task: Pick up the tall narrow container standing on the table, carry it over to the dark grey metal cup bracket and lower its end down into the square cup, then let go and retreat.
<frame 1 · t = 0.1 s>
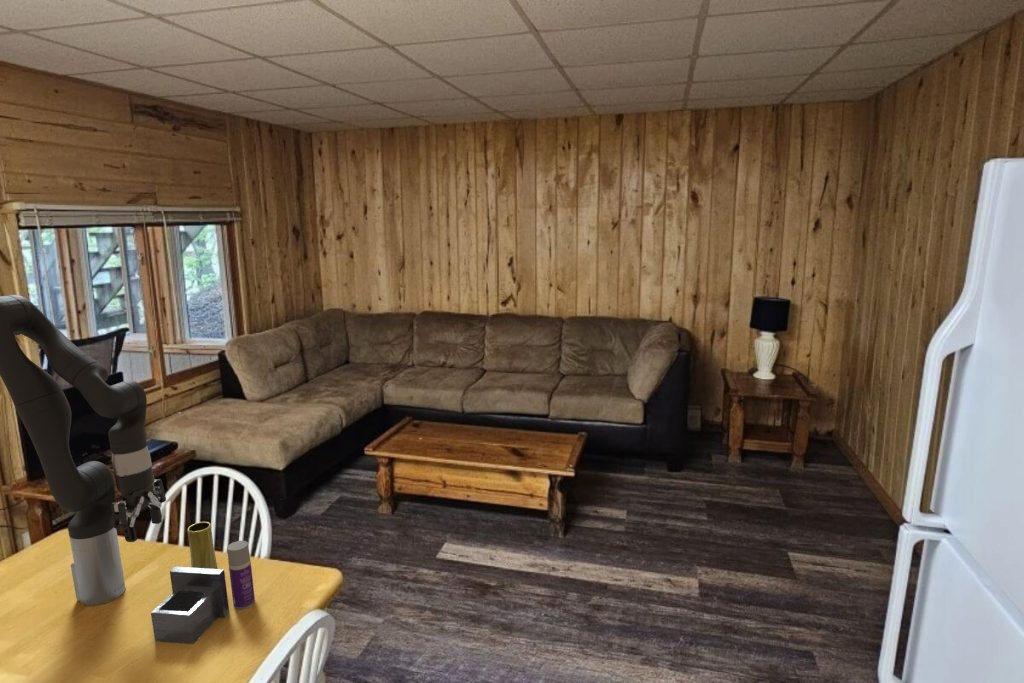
hand: (144, 531, 145), 17 cm above the table, tool pointing down, fingers open, 8 cm apart
cup bracket: (187, 629, 137), on the table
container: (244, 604, 146), on the table
vase: (205, 579, 157), on the table
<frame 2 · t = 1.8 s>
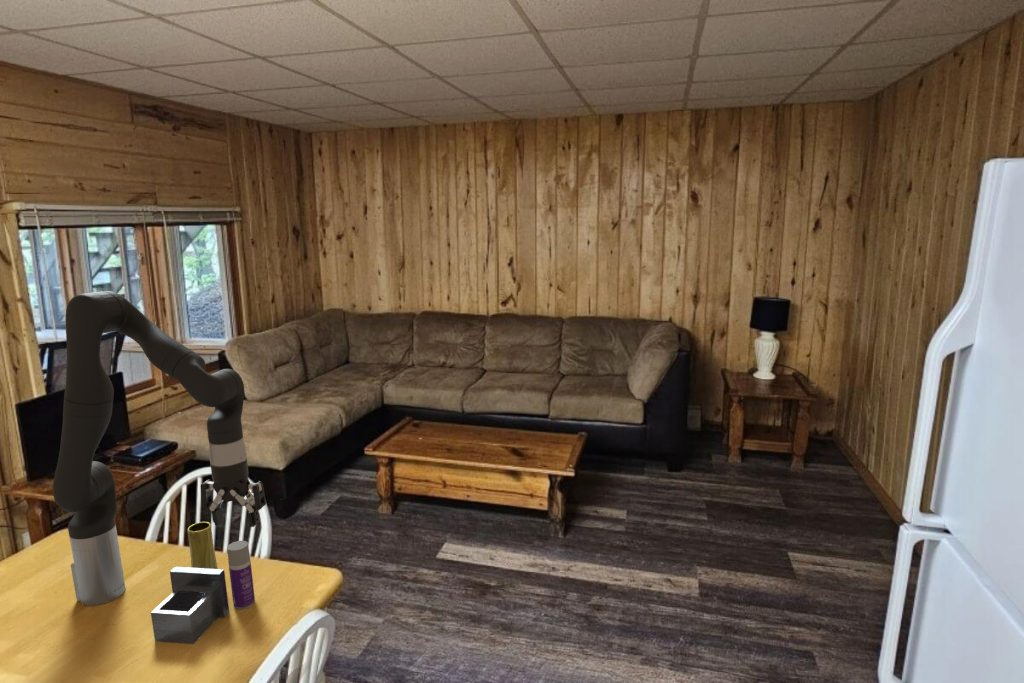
hand: (236, 524, 142), 20 cm above the table, tool pointing down, fingers open, 8 cm apart
nothing on the table moved.
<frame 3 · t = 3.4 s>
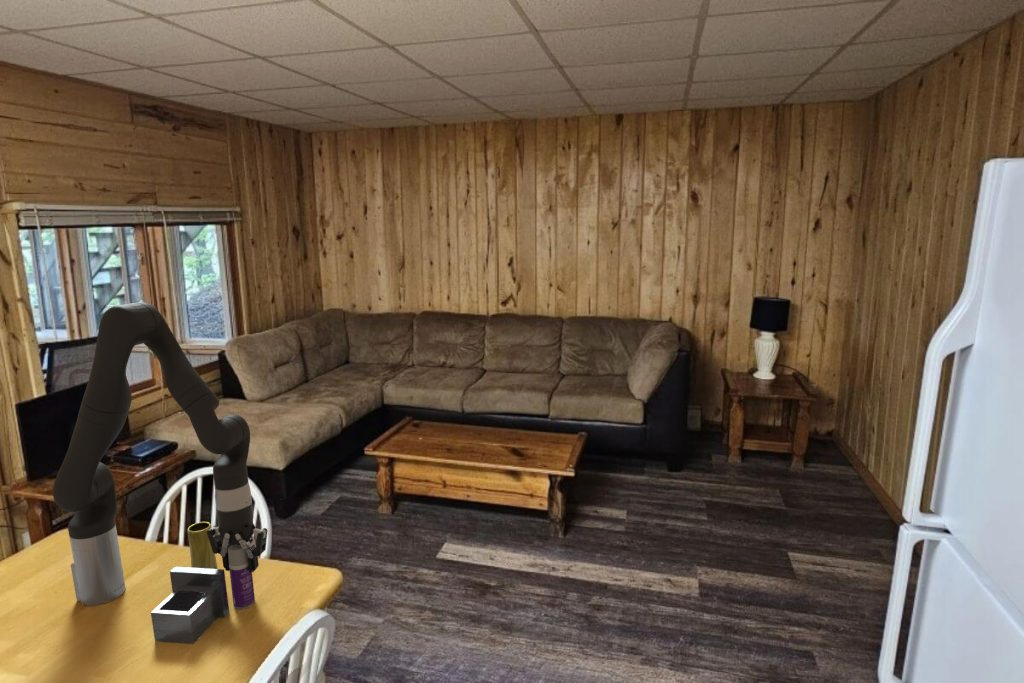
hand: (241, 569, 144), 9 cm above the table, tool pointing down, fingers open, 5 cm apart
container: (244, 604, 146), on the table, touching gripper
everything else where it was.
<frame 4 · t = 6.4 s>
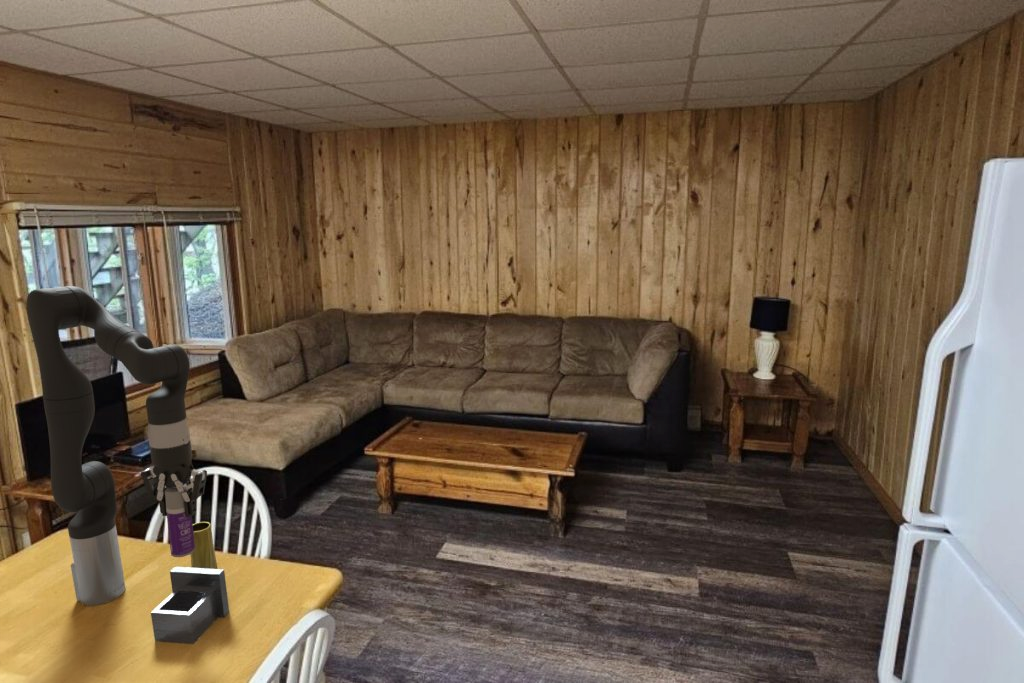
hand: (179, 514, 133), 27 cm above the table, tool pointing down, fingers closed on container, 4 cm apart
container: (183, 552, 135), point 18 cm above the table, touching gripper
everything else where it was.
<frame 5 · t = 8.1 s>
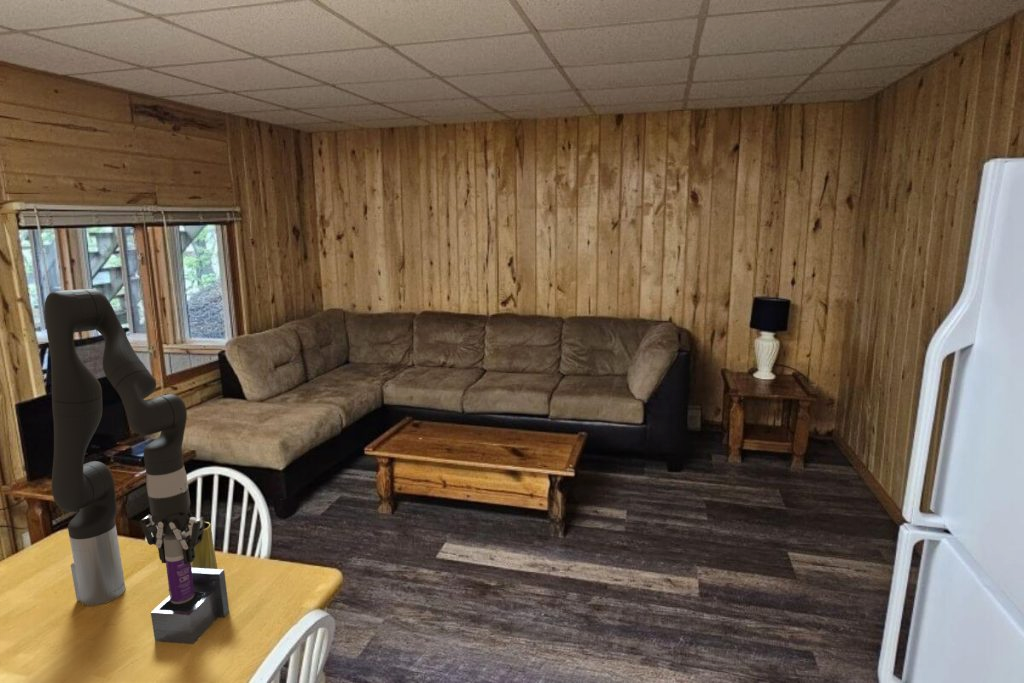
hand: (178, 561, 134), 17 cm above the table, tool pointing down, fingers closed on container, 4 cm apart
container: (182, 598, 136), point 8 cm above the table, touching gripper
everything else where it was.
when the fingers open (13 cm above the table, at t = 9.2 s): container stays where it is, resting on cup bracket.
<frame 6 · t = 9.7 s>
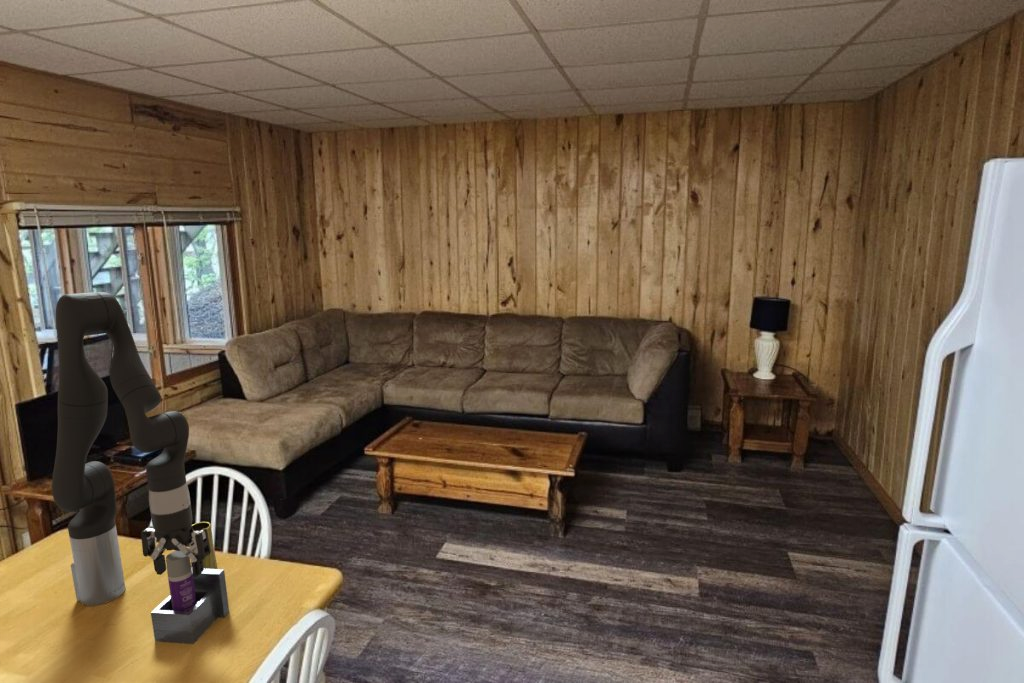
hand: (179, 573, 134), 14 cm above the table, tool pointing down, fingers open, 8 cm apart
container: (186, 617, 137), point 3 cm above the table, touching cup bracket
everything else where it was.
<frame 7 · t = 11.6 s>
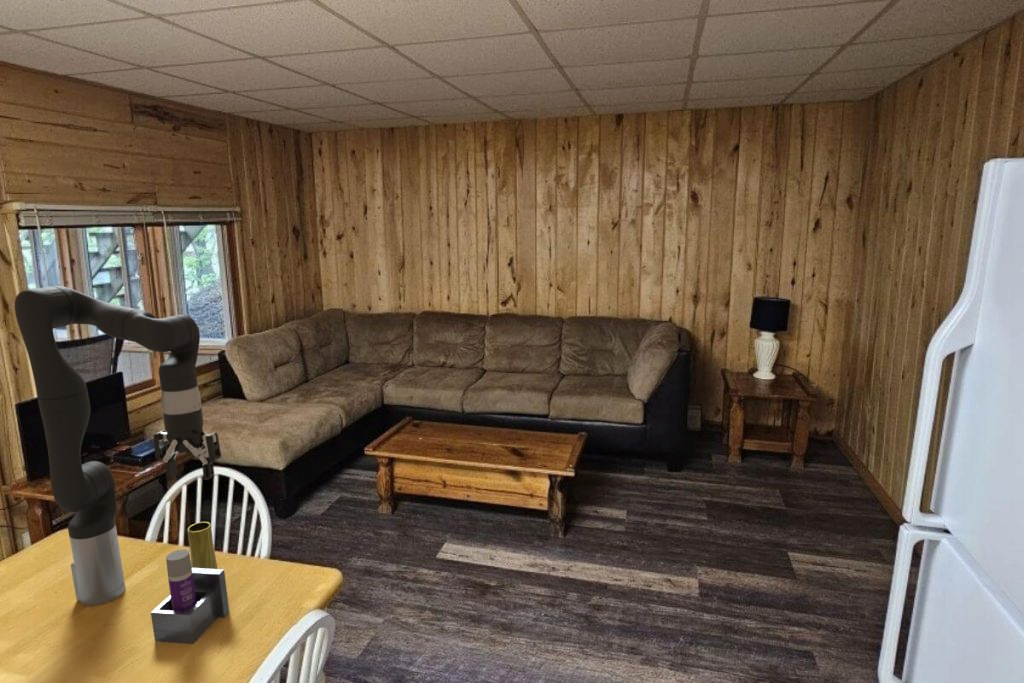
hand: (190, 477, 137), 33 cm above the table, tool pointing down, fingers open, 8 cm apart
nothing on the table moved.
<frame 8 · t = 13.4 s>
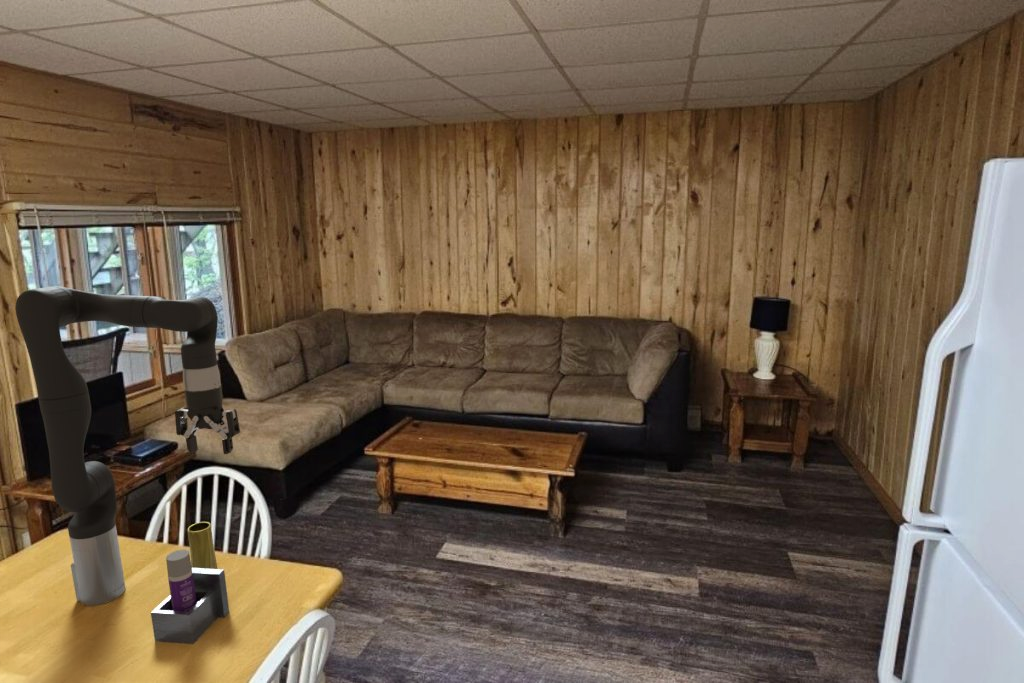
hand: (210, 452, 143), 36 cm above the table, tool pointing down, fingers open, 8 cm apart
nothing on the table moved.
at the end: container 0.2 cm off-centre on the cup bracket, point 2.8 cm above the cup bracket's base; container tilted 0°; the gripper is holding nothing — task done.
